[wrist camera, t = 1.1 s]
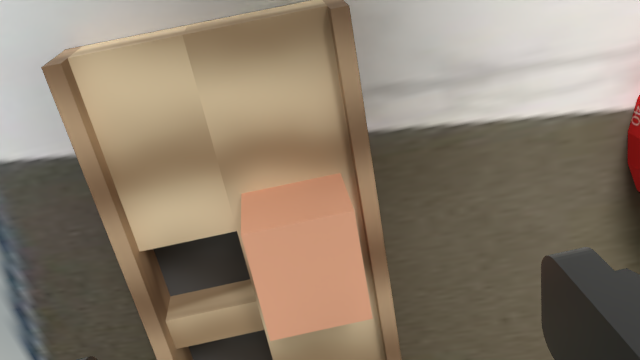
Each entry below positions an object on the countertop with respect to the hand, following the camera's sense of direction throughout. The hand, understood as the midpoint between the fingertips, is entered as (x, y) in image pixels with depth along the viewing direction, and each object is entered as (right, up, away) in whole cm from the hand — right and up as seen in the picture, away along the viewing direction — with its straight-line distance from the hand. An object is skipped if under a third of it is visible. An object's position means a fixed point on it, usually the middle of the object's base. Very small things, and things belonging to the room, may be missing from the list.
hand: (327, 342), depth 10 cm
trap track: (-3, -1, +22) cm, 22 cm away
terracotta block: (-1, 0, +19) cm, 19 cm away
